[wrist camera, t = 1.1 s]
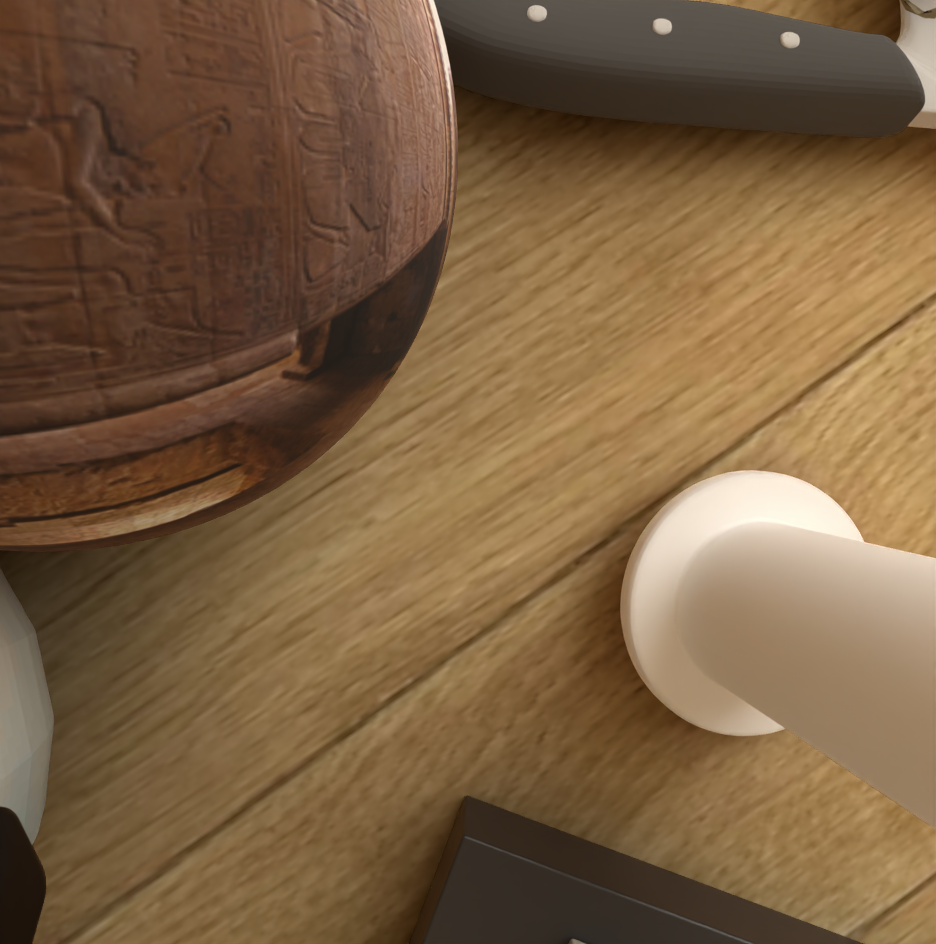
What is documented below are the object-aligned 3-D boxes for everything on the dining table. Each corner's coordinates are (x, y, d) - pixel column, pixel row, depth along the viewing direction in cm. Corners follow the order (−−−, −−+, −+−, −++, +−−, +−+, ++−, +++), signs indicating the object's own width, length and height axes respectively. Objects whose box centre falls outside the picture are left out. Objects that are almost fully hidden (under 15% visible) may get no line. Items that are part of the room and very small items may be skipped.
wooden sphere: (-382, -427, 15) (436, -347, 17) (-72, 299, 25) (419, 298, 27) (-2438, -872, 4) (620, -491, 6) (-399, 753, 14) (474, 695, 16)
